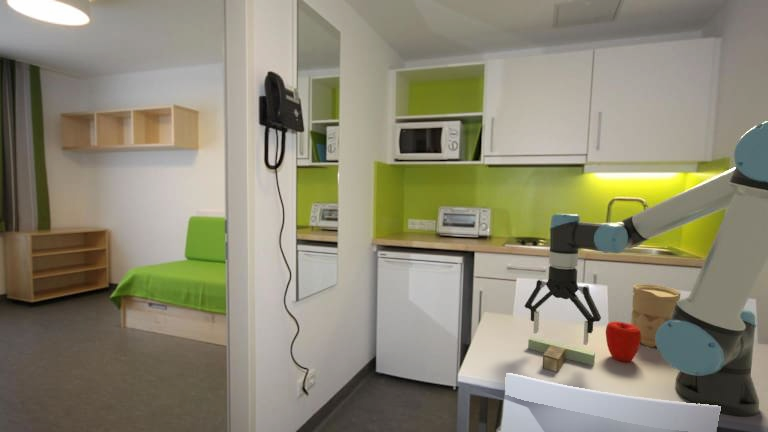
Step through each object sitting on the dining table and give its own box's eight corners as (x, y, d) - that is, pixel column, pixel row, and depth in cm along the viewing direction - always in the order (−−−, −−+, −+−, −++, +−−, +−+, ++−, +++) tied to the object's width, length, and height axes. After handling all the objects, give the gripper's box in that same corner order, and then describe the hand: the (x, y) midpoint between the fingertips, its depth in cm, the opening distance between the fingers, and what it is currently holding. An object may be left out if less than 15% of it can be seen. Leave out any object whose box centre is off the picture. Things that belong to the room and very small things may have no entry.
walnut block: (565, 348, 109) (558, 359, 101) (565, 361, 109) (557, 373, 102) (551, 344, 111) (543, 355, 104) (550, 357, 111) (542, 369, 104)
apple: (633, 354, 114) (635, 320, 113) (644, 367, 106) (647, 330, 105) (600, 350, 116) (602, 316, 116) (609, 363, 108) (611, 326, 107)
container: (686, 350, 118) (690, 294, 117) (647, 349, 118) (650, 293, 117) (657, 334, 131) (661, 284, 129) (621, 334, 131) (625, 283, 129)
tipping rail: (594, 362, 108) (594, 352, 108) (593, 365, 106) (593, 355, 106) (530, 346, 119) (530, 337, 119) (528, 348, 117) (528, 339, 117)
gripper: (614, 270, 104) (610, 344, 106) (523, 259, 119) (521, 324, 121) (611, 274, 98) (607, 353, 100) (515, 263, 113) (513, 331, 115)
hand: (559, 337), depth 110 cm, fingers open, 13 cm apart
